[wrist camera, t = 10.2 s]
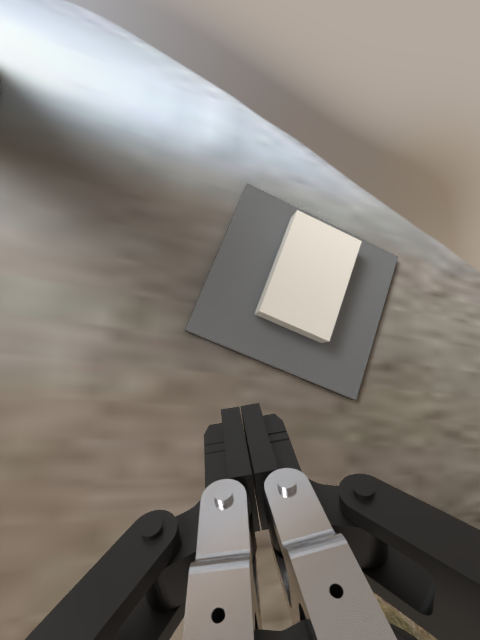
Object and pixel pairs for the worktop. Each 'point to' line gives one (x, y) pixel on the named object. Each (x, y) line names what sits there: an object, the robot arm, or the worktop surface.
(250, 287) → the mat
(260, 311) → the tile
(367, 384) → the worktop surface
